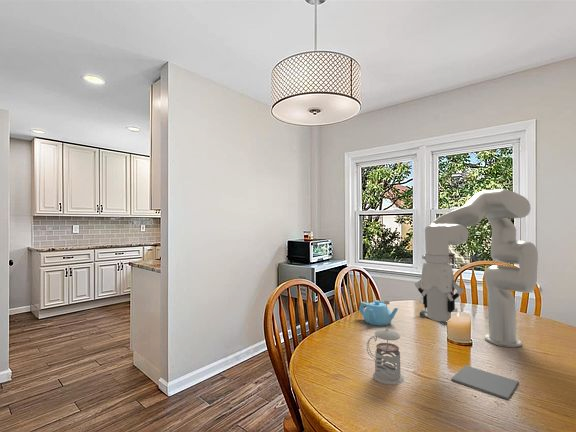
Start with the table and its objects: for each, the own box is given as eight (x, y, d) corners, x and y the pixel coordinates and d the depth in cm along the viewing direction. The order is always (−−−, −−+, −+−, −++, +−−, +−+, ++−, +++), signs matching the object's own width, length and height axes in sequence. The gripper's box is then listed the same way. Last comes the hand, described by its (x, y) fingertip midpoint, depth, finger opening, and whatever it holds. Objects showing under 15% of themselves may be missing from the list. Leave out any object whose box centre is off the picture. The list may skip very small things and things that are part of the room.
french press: (400, 387, 94) (398, 305, 94) (363, 378, 100) (361, 300, 101) (406, 374, 102) (405, 298, 103) (372, 365, 108) (370, 294, 109)
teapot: (384, 316, 165) (384, 296, 165) (399, 325, 150) (399, 303, 150) (357, 318, 162) (357, 297, 162) (370, 327, 147) (369, 305, 148)
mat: (465, 366, 107) (465, 365, 107) (518, 383, 96) (518, 381, 96) (451, 380, 98) (451, 378, 98) (508, 399, 87) (508, 397, 87)
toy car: (415, 297, 167) (430, 295, 172) (415, 315, 167) (430, 312, 172) (444, 305, 151) (459, 302, 156) (444, 325, 151) (460, 321, 156)
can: (453, 322, 105) (452, 287, 105) (430, 321, 106) (429, 286, 106) (447, 315, 112) (446, 282, 112) (425, 315, 113) (424, 282, 114)
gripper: (408, 258, 113) (410, 306, 113) (460, 262, 100) (461, 316, 100) (417, 256, 118) (419, 302, 118) (467, 260, 106) (469, 312, 105)
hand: (438, 308), depth 109 cm, fingers closed on can, 7 cm apart
